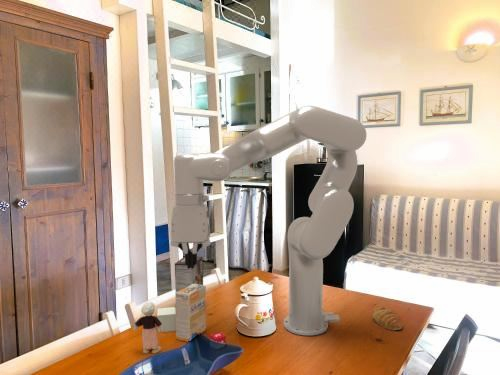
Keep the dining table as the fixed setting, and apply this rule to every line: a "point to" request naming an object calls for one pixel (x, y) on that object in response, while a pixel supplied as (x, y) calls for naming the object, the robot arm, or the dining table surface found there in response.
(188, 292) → the supplement box
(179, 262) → the coffee box
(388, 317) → the pastry
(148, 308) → the grandmother figurine
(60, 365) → the dining table surface
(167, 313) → the sage block
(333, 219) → the robot arm
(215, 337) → the dice
